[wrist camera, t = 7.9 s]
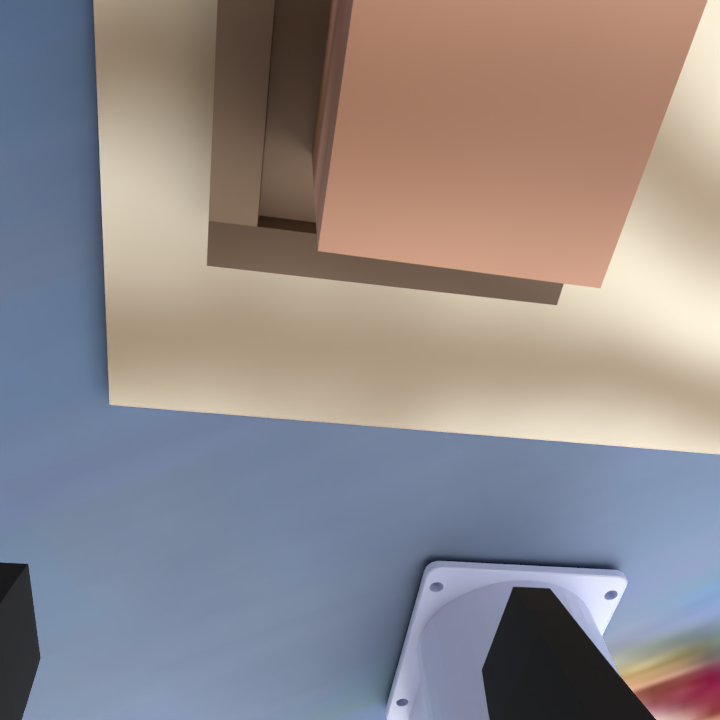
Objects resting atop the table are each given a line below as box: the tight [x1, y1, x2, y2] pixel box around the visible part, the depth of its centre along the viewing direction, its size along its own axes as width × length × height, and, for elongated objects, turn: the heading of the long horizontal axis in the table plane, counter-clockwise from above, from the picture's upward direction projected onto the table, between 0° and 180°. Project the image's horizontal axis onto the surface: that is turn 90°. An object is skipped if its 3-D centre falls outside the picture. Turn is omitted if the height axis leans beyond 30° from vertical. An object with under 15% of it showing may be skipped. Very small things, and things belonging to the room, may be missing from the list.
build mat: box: [93, 0, 720, 454], centre depth 15 cm, size 18×25×4 cm
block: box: [312, 0, 708, 288], centre depth 10 cm, size 4×4×6 cm
